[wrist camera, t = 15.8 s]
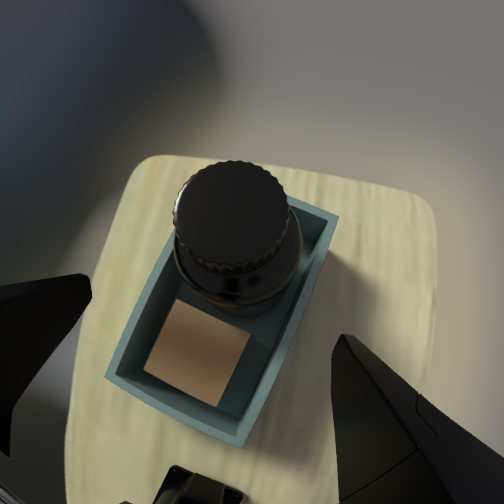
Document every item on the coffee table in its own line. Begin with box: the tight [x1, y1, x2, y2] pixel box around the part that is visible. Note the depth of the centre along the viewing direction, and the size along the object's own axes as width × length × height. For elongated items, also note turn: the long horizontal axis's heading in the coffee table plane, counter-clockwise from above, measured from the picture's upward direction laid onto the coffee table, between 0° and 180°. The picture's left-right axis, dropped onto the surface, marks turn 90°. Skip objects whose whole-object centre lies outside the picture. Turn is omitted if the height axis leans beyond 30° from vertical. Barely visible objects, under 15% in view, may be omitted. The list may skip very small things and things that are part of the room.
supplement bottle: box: [173, 160, 303, 319], centre depth 17 cm, size 7×7×12 cm
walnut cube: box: [144, 299, 251, 407], centre depth 19 cm, size 5×5×5 cm
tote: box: [105, 195, 339, 448], centre depth 20 cm, size 16×10×6 cm, turn 156°
